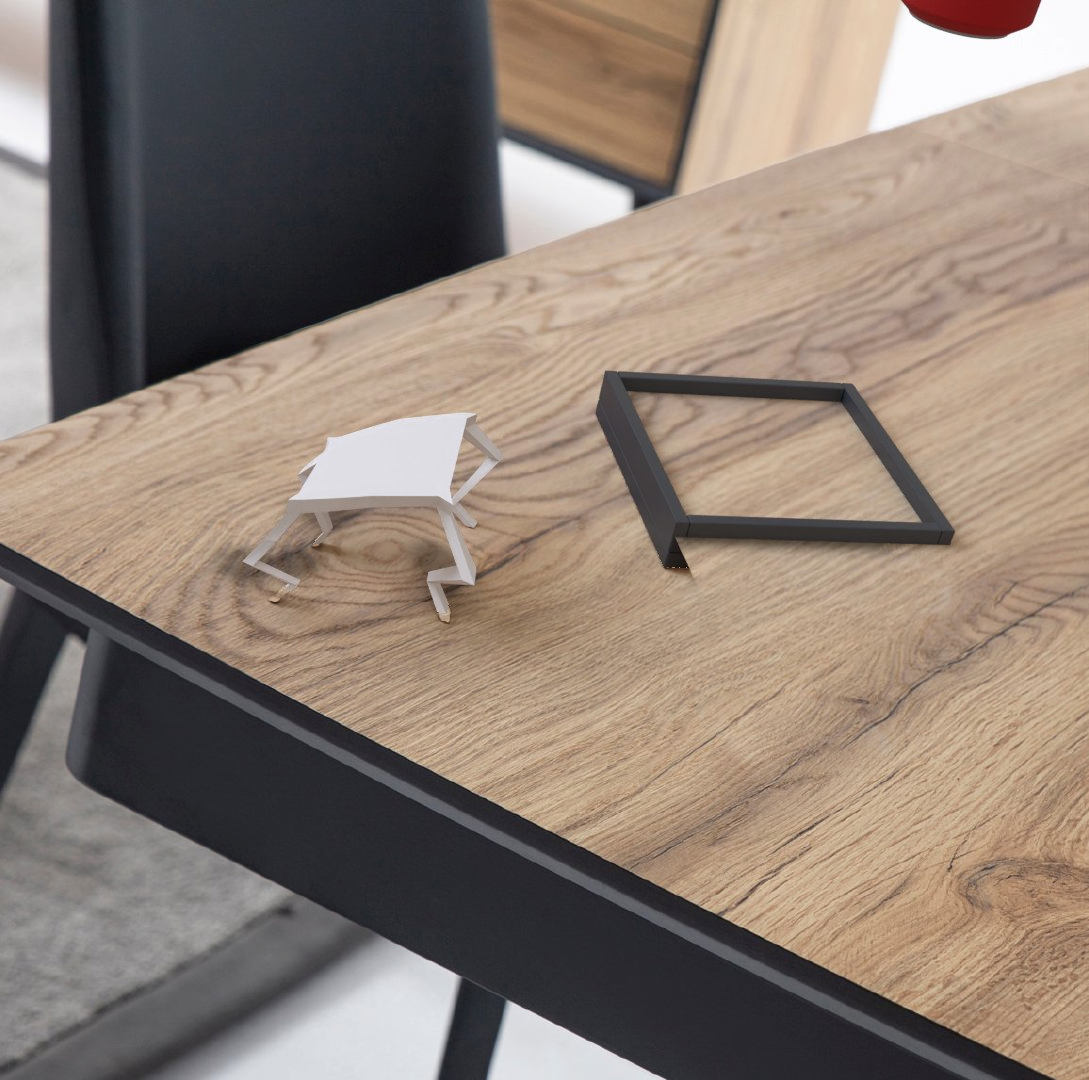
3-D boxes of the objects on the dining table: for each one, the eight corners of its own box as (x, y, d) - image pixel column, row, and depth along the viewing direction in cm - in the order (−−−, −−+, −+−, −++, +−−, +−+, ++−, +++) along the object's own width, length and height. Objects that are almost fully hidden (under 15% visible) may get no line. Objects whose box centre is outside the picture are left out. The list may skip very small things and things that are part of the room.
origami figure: (431, 680, 58) (452, 568, 55) (227, 598, 60) (236, 486, 57) (551, 526, 67) (574, 423, 64) (370, 460, 69) (384, 357, 66)
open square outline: (838, 425, 78) (852, 382, 77) (938, 576, 69) (956, 530, 67) (594, 413, 75) (604, 369, 74) (663, 568, 66) (676, 521, 65)
